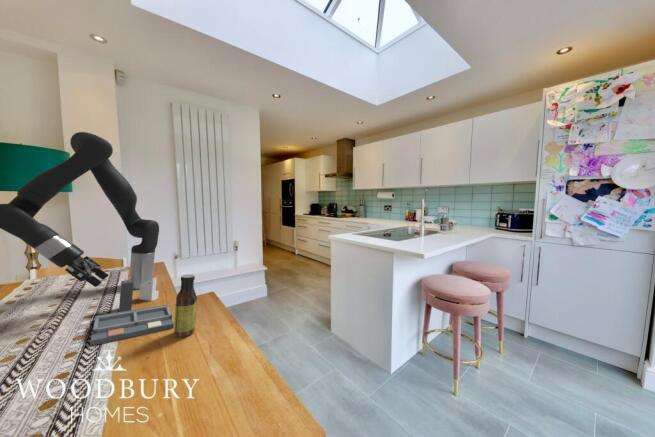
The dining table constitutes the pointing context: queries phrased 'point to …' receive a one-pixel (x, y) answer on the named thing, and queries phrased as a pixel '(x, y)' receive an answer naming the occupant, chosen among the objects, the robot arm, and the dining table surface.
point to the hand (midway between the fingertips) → (102, 281)
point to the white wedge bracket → (148, 290)
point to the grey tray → (130, 324)
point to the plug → (126, 295)
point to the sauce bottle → (185, 307)
